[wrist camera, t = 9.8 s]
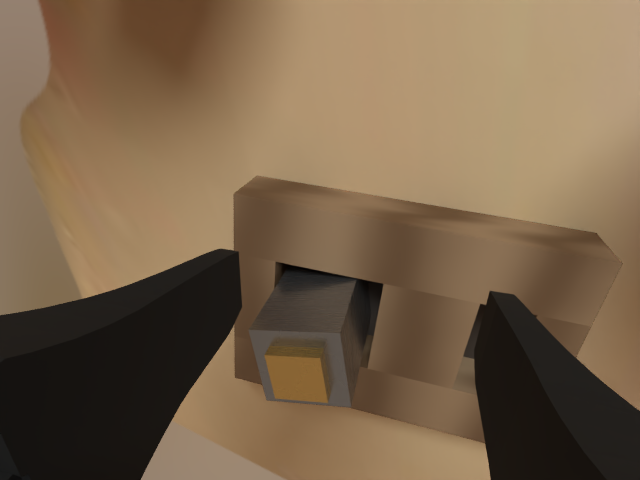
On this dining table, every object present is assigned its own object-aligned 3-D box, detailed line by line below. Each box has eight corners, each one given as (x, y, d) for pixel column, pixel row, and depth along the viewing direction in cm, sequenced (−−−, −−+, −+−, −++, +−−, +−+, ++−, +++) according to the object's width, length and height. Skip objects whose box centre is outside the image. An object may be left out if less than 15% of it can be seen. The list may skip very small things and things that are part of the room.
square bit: (364, 253, 22) (337, 342, 16) (371, 314, 24) (348, 418, 17) (296, 254, 23) (242, 338, 17) (306, 312, 25) (261, 410, 18)
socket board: (596, 233, 19) (622, 263, 17) (517, 410, 25) (527, 454, 22) (256, 175, 22) (233, 193, 20) (253, 345, 28) (234, 377, 25)
